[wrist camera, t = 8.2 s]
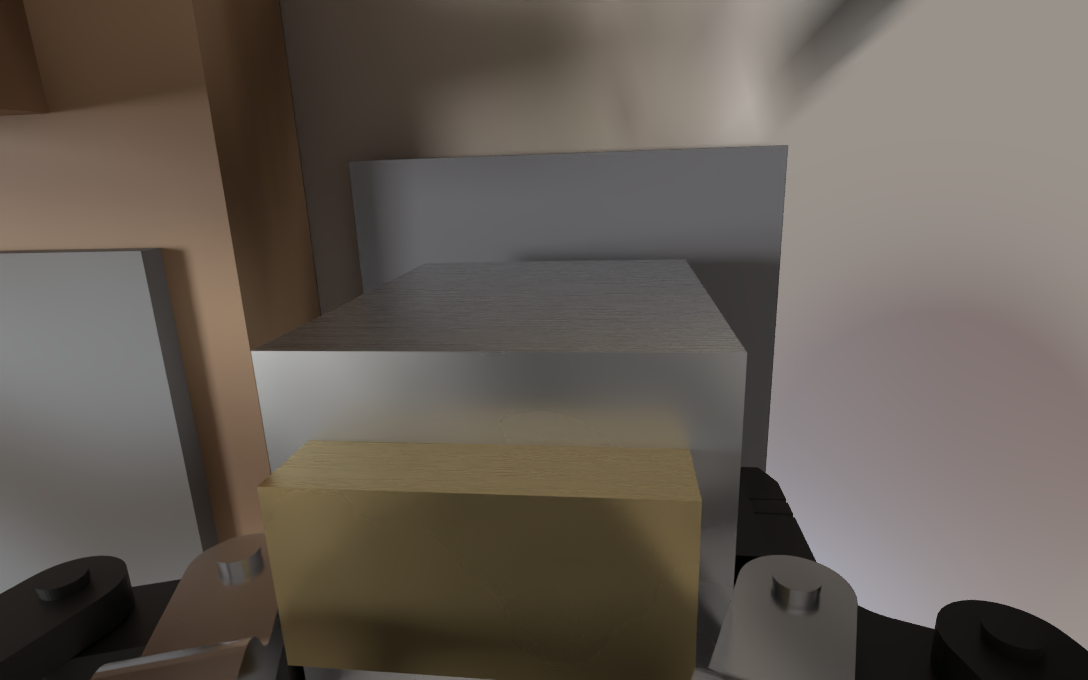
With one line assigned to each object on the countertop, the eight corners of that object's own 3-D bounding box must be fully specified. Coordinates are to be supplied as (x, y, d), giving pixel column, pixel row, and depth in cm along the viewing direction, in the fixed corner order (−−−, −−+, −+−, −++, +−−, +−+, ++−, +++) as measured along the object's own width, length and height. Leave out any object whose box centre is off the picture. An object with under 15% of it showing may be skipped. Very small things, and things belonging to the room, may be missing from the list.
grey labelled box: (425, 262, 12) (186, 382, 6) (685, 259, 12) (772, 389, 5) (454, 607, 14) (307, 996, 8) (674, 619, 14) (724, 1053, 7)
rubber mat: (363, 161, 14) (348, 161, 13) (778, 146, 13) (788, 144, 12) (411, 611, 17) (401, 632, 16) (746, 631, 16) (753, 654, 15)
